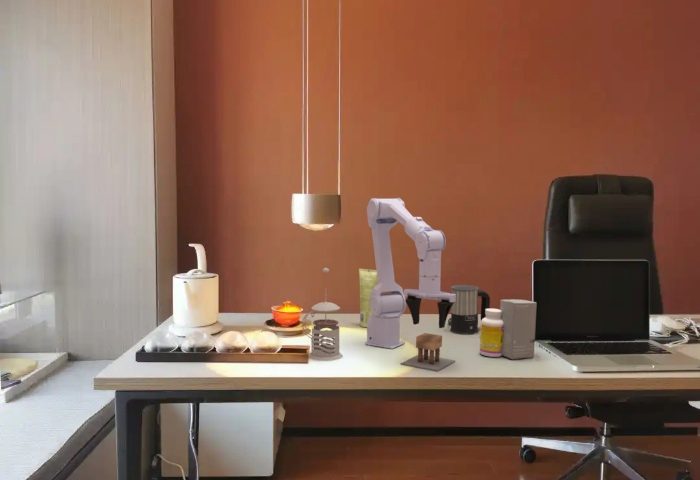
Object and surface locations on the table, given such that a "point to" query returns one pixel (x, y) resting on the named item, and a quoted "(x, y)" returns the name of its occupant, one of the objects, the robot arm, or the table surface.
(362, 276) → the tube
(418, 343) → the tan box with knobs
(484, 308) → the milk frother
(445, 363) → the pad
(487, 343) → the supplement bottle
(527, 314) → the skincare box
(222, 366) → the table surface
